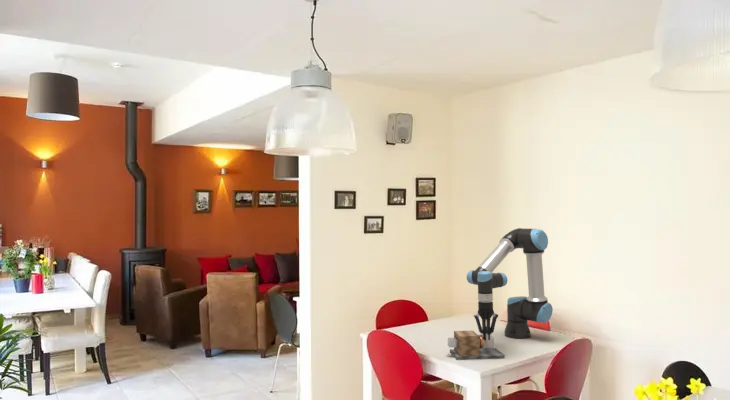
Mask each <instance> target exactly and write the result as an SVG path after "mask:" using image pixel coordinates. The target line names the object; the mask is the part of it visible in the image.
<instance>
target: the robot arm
mask: <svg viewBox="0 0 730 400" xmlns="http://www.w3.org/2000/svg"><path fill="white" fill-rule="evenodd" d="M548 245H549V238H548V235H547V233H546V232H545V231H544V230H543V229H540V228H538V229H537V228H520V227H518V228H515V229H512V230H510V231H509V232H508V233H506V234H505V235H504V236H503V237H502V238H500V239H499V242H498V244H497V246H495V248H494V249H493V250H492V251H491V253H489V255H488V256H487V257H486V258H485V259H484V260H483V261H482V262H481V264H480V265H478V267H477V268H476V269H474V270H473V269H472V270H469V271H468V272H467V274H466V281H467V282H468V284H471V285H474V286H477V300H478V303H477V304H478V305H477V307H478V308H477V309H478V310H477V313H475V314H473V317H474V319H475V322H476V325H477V326H476V327H477V329H478V332H479V333H482V334H483V340H485V346H486V347H489V345H488V340H490V334H491V333H492V334H494V331H495V326H496V322H497V319H498V318H499V314H497V313H495V311H494V301H493V300H494V297H493V296H494V295H493V294H494V293H493V289H496V288H497V289H498V288H502V287H505V286H506V285H507V284H508V276H507V275H506V274H505V273H504V272H494V271H495V270H496V269H497V267H498V266H499V265H500V264H501V262H503V260H504V259H505V258H506V257H507V256H508V255H509V254H510V253H512V252H514V251H515V250H516V249H522V252H523V254H524V255H525V257H526V258H525V259H526V270H527V272H526V275H527V286H528V296H523V295H522V296H512V297H509V298H507V304H506V305H507V306H506V307H507V308H506V309H507V310H506V311H507V312H506V313H507V316H506V317H507V318H506V325H505V328H504V332H503V333H504V336H505V337H507V338H510V339H511V338H512V339H520V340H522V339H528V338H531V335H532V334H531V333H532V332H531V330H530V326H529V321H530V322H536V323H541V324H546V323H548V322H549V321H550V320H551V317H552V315H553V310H554V309H553V306H552V303H550V302H548V297H547V296H545V285H544V272H543V271H544V269H543V254H544V253H545V250H546V249H547V248H548ZM480 318H481V320H480ZM480 321H481V322H480ZM486 329H487V333H486Z"/></svg>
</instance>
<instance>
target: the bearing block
mask: <svg viewBox="0 0 730 400" xmlns="http://www.w3.org/2000/svg"><path fill="white" fill-rule="evenodd" d="M479 335H480V334H478V333H476V332H475V331H474V330H454V331H453V338H458V347H453V348H450V349H449V353H450V354H451V355H452V356H453V358H455V360H456V361H458V360H459V361H462V360H464V361H465V360H466V361H467V360H493V359H494V360H496V359H497V360H498V359H505V357H506V356H505V354H504V353H502V352H501V351H500V350H499V349H497V348H496V347H494V348H483V349H479Z"/></svg>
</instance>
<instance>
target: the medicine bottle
mask: <svg viewBox="0 0 730 400" xmlns="http://www.w3.org/2000/svg"><path fill="white" fill-rule="evenodd" d="M479 333H480V332H479ZM486 333H487V329H486ZM492 334H493V333H491V334H490V340H488V345H489V347H486V346H485V340H483V341H484V345H483V348H495V337H494V336H493V335H492ZM479 335H482V337H483V334H482V333H480V334H479ZM483 348H482V349H483Z"/></svg>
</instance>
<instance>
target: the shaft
mask: <svg viewBox="0 0 730 400" xmlns="http://www.w3.org/2000/svg"><path fill="white" fill-rule="evenodd" d="M478 335H479V349H482V348H483V345H484V341H483V337H482V335H480V334H478ZM447 346H448V348H454V347H458V338H454V337H447Z"/></svg>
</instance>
